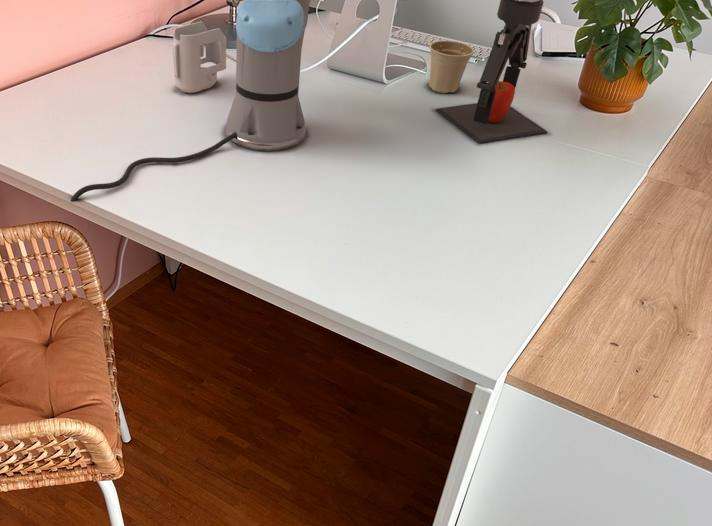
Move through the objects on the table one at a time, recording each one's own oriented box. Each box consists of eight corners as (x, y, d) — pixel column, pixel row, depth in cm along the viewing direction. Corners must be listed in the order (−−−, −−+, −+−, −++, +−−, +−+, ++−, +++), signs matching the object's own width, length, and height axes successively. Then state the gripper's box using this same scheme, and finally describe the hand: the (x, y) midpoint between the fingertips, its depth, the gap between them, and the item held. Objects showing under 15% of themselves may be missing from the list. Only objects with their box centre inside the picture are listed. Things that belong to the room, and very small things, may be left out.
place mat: (478, 143, 136) (479, 141, 136) (435, 110, 147) (436, 108, 147) (547, 133, 140) (547, 131, 140) (500, 101, 151) (500, 99, 151)
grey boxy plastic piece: (228, 83, 154) (228, 25, 146) (185, 98, 148) (182, 38, 140) (208, 74, 158) (207, 17, 149) (165, 88, 151) (161, 29, 143)
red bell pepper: (494, 111, 146) (503, 75, 141) (513, 123, 142) (524, 86, 137) (469, 115, 144) (478, 79, 139) (488, 128, 140) (498, 90, 135)
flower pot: (462, 81, 159) (471, 41, 153) (467, 98, 152) (477, 57, 146) (420, 78, 160) (427, 38, 154) (423, 95, 153) (431, 54, 147)
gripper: (520, 17, 119) (488, 137, 133) (564, -15, 134) (531, 95, 148) (477, 8, 122) (451, 126, 136) (525, -22, 137) (497, 86, 151)
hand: (492, 110), depth 142 cm, fingers open, 13 cm apart
